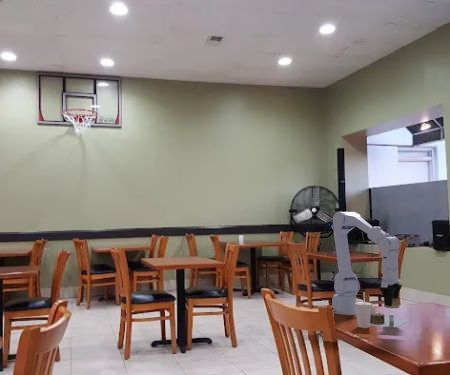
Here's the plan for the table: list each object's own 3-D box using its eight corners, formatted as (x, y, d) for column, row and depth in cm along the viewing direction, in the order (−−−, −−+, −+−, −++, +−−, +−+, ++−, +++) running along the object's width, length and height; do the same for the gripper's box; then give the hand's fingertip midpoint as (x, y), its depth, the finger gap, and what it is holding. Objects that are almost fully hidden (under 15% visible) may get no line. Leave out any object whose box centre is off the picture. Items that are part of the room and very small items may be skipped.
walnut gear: (370, 323, 184) (369, 315, 184) (369, 320, 189) (369, 312, 189) (384, 323, 182) (384, 315, 182) (384, 320, 187) (383, 313, 187)
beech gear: (382, 307, 182) (381, 299, 182) (387, 305, 186) (386, 297, 186) (396, 308, 179) (396, 300, 179) (401, 306, 183) (400, 298, 183)
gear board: (362, 327, 182) (362, 314, 182) (379, 319, 196) (379, 307, 197) (394, 331, 175) (394, 318, 175) (409, 322, 189) (409, 310, 189)
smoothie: (363, 332, 173) (362, 293, 174) (351, 329, 179) (350, 291, 180) (376, 330, 176) (375, 292, 177) (364, 327, 182) (363, 289, 183)
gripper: (394, 270, 175) (395, 308, 174) (406, 267, 187) (407, 302, 186) (375, 269, 179) (376, 306, 179) (388, 266, 191) (389, 301, 190)
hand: (391, 304), depth 182 cm, fingers closed on beech gear, 5 cm apart
